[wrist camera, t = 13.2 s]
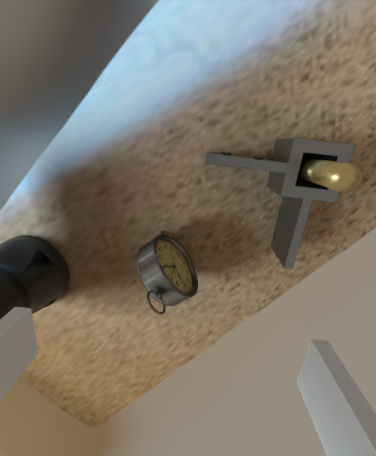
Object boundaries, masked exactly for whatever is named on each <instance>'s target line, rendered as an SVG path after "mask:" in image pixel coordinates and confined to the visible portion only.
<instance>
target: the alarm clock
mask: <svg viewBox="0 0 376 456" xmlns="http://www.w3.org/2000/svg"><path fill="white" fill-rule="evenodd" d="M136 265H137V271H138V274H139V277H140V280H141V282H142V284H143V286H144V287H145V289H146V290H147V292H148V294H147V301H148V304H149V306H150V307H151V309H152V310H153V311H154V312H155V313H157V314H160V315H161V314H164V313H165V305H167V306H174V305H177V304H179V303H181V302H182V301H184V300H186V299H188V298H190V297H192V296H194V295H195V294H196V292H197V289H198V279H197V275H196V271H195V268H194V266H193V264H192V262H191V260H190V258H189V256H188V255H187V253H186V252H185V250H184V249H183V248H182V247H181V245H180V244H179V243H178V242H177V241H175V240H174V239H173V238H171V237H169V236H167V235H164V232H161V235H158V236H157V237H155V238H154V239H152V240H151V241H150V242H148V243H147V244H145V245H144V246H142V247H141V248H140V250H139V251H138V254H137V259H136ZM149 295H151V296H152V297H153V298H154V299H155V300H156V301H158V302H159V303H161V304H163V308H164V309H163V311H162V312H159V311H157V310H156V309H155V308H154V307H153V306H152V304H151V302H150V298H149Z"/></svg>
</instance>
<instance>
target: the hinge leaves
mask: <svg viewBox="0 0 376 456" xmlns="http://www.w3.org/2000/svg"><path fill="white" fill-rule="evenodd" d="M354 147H355V144H346V143H337V142H328V141H318V140H309V139H300V138H288V139H277V141H276V146H275V150H274V155H273V159H272V160H271V159H263V157H262V156H254V158H253V157H244V156H236V155H231V152H223V154H218V153H210V152H207V153H206V160H205V163H206V164H214V165H223V166H231V167H240V168H248V169H257V170H265V171H270V173H269V178H268V182H267V187H268V188H270V189H271V190H273V191H274V192H276V193H277V194H278V195H280V196H283V199H282V203H281V207H280V211H279V215H278V219H277V223H276V227H275V231H274V235H273V239H272V243H271V247H272V249H273V251H274V252H275V254H276V256H277V257H278V259H279V261H280V262H281V264H282V266H283V267H284V268H286V269H293V266H294V262H295V259H296V255H297V252H298V249H299V245H300V242H301V238H302V235H303V231H304V228H305V225H306V221H307V218H308V214H309V211H310V208H311V204H312V201H313V200H318V201H326V202H334V203H336V201H337V198H338V195H339V191H336V190H333V189H330V188H327V187H324V186H322V185H319V184H316V183H313V182H310V181H308V180H305V181H299V180H297V176H298V172H299V168H300V165H301V161H302V157H303V153H308V154H312V155H311V159H318V160H326V161H334V162H342V163H349V162H350V159H351V156H352V153H353V150H354Z"/></svg>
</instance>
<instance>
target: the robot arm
mask: <svg viewBox="0 0 376 456" xmlns="http://www.w3.org/2000/svg"><path fill="white" fill-rule="evenodd" d="M68 285H69V270H68V267H67V264H66V262H65V260H64V259H63V257H62V256H61V255H60V253H59V252H58V251H57V250H56V249H55V248H54V247H52V246H51V245H50V244H48V243H46V242H45V241H43V240H40V239H38V238H35V237H30V236H18V237H14V238H11V239H9V240H7V241H5V242H3V243H1V244H0V401H1V400H2V399H3V398H4V396H5V395H6V394H7V392H8V391H9V390H10V389H11V387H12V386H13V385H14V383H15V382H16V381H17V380H18V378H19V377H20V376H21V375H22V373H23V372H24V371H25V369H26V368H27V367H28V366H29V364H30V363H31V362H32V361H33V359H34V358H35V357H36V355H37V354H38V348H37V342H36V336H35V330H34V323H33V317H32V313H34V312H37V311H39V310H41V309H42V308H44V307H47V306H49V305H51V304H53V303H54V302H56V301H57V300H58V299H59V298H60V297H61V296H62V295H63V294H64V293H65V291H66V290H67V288H68ZM297 384H298V386H299V389H300V391H301V394H302V396H303V399H304V401H305V404H306V406H307V408H308V411H309V413H310V416H311V418H312V421H313V423H314V426H315V428H316V430H317V433H318V435H319V438H320V440H321V443H322V445H323V448H324V450H325V453H326V455H327V456H376V414H375V412H374V410H373V409H372V407H371V406H370V404H369V403H368V401H367V400H366V398H365V396H364V395H363V394H362V392H361V390H360V389H359V387H358V386H357V384H356V383H355V381H354V380H353V378H352V377H351V375H350V374H349V372H348V371H347V369H346V368H345V366H344V364H343V363H342V361H341V360H340V358H339V357H338V355H337V354H336V352H335V351H334V349H333V348H332V346H331V345H330V343H329V342H328V341H324V340H315V339H311V342H310V345H309V348H308V350H307V353H306V356H305V359H304V362H303V366H302V368H301V371H300V374H299V377H298V380H297Z"/></svg>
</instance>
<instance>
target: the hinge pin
mask: <svg viewBox="0 0 376 456" xmlns="http://www.w3.org/2000/svg"><path fill="white" fill-rule="evenodd" d="M362 176H363V174H362V170H361V169H360V167H359V166H357V165H355V164H350V163H342V162H334V161H326V160H318V159H310V158H302V161H301V165H300V168H299V172H298V176H297V177H299V178H302V179H305V180H308V181H310V182H313V183H316V184H319V185H322V186H324V187H327V188H330V189H333V190H336V191H339V192H342V193H346V192H350V191H352V190H354V189H356V188H357V187H358V186H359V184H360V183H361V181H362Z"/></svg>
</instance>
